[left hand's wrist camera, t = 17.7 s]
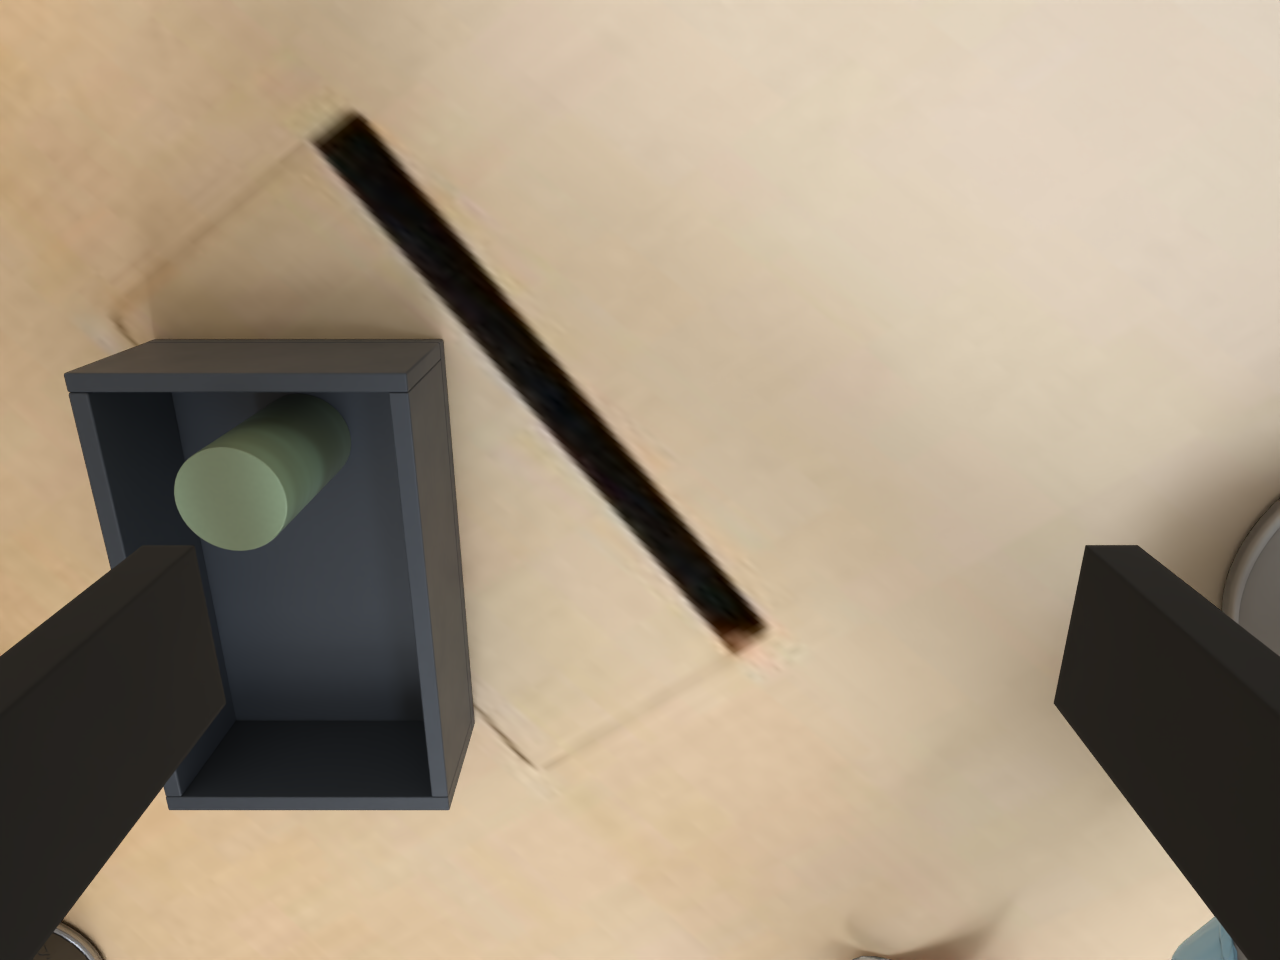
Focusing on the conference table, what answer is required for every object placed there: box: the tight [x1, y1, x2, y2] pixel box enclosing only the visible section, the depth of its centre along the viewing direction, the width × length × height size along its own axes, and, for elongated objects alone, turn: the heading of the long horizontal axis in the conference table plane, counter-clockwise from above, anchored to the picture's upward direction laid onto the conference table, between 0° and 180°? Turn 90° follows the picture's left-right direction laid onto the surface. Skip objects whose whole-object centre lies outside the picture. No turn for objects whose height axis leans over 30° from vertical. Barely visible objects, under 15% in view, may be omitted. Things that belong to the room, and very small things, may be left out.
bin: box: [64, 339, 475, 810], centre depth 41 cm, size 14×22×7 cm, turn 0°
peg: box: [174, 394, 351, 551], centre depth 37 cm, size 4×4×8 cm
